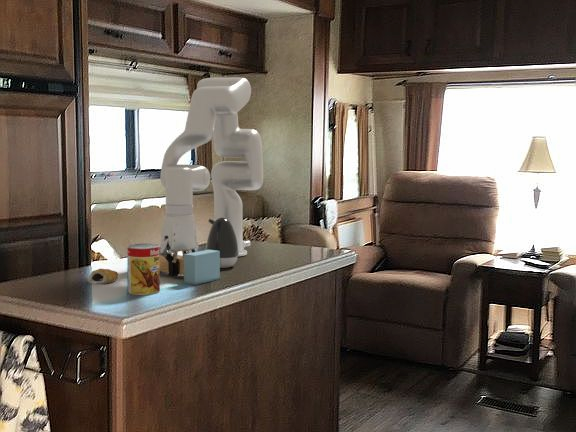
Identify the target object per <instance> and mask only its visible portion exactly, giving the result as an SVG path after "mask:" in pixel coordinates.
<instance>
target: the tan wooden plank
mask: <svg viewBox="0 0 576 432" xmlns="http://www.w3.org/2000/svg"><path fill="white" fill-rule="evenodd" d="M172 257H173V253H172ZM176 262H177V263H178V275H179V276H181V275H182V276H184V256H183V255H180V254H177V260H176ZM159 271H162V272H161V273H168V274H169V268H168V262H167V261H166V258H165V257H164V256H163V255H161V254H160V252H159Z"/></svg>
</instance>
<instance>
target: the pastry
mask: <svg viewBox="0 0 576 432" xmlns="http://www.w3.org/2000/svg"><path fill="white" fill-rule="evenodd" d="M118 280H119V273H118V272H117V271H116V270H112V269H110V268H98V269H95V270H92V271H91V273H90V274H89V276H88V277H87V282H89V284H92V285H95V284H96V285H106V284H107V285H108V283H109V284H112V283H113V282H117V281H118Z"/></svg>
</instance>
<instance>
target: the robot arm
mask: <svg viewBox="0 0 576 432" xmlns="http://www.w3.org/2000/svg"><path fill="white" fill-rule="evenodd" d="M250 83H251V82H249V80H248V79H247V78H245V77H238V76H237V77H207V78H202V79H200V80H199V81H198V82H197V84H196V89H194V91H193V93H192V94H191V97H190V98H191V99H190V103H189V109H188V111H187V113H188V114H187V118H186V122H185V128H184V130H183V132H182V133H180V134H179V135H178V136H177V137H175V139H174V140H173V141H172V142H171V144H169V146H168V147H167V149H166V151H165V153H164V155H163V160H162V164H161V169H160V174H159V175H160V178H159V179H160V183H161V185H162V187H163V188H165V215H163V219H162V223H161V233H160V247H161V250H160V254H161V255H163V256H164V257H165V258H166V261H167V262H168V268H169V273H168V276H170V277H175V278H176V277H179V274H178V263H177V262H176V260H177V255H179V254H178V252H181V253H182V256H184V254H187V253H193V252H197V251H198V249H199V248H200V247H199V246H200V245H199V244H198V241H197V226H196V220H195V214H194V210H195V206H194V204H193V203H194V198H193V197H194V195H193V192H201V191H204V190H206V189H207V188H208V187H209V186H210V183H212V188H213V201H214V202H213V204H214V205H213V206H214V207H213V210H214V211H213V214H214V219H213V221H215V220H217V219H218V218H226V219H228V220H229V221H230V223H231V224H232V226H233V229H234V231H235V234H236V238H237V242H238V249H239V255H238V257H244V256H246V255H248V251H247V250H246V249H245V248H246V247H250V246H251V241H250V240H243V239H244V238H243V233H244V232H243V231H244V230H243V225H244V224H243V221H244V220H243V217H244V216H243V209H244V208H243V207H244V205H243V200H242V198H241V196H240V195H239V193H237V191H257V190H259V189H261V188H262V186H263V183H264V160H263V159H264V158H263V156H264V155H263V141H262V137H261V135H260V133H259V131H257V130H255V129H251V128H241V127H240V126H239V116H238V113H239V112H240V110H242V109H243V108H244V107H245V106H246V105H247V104H248V103H249V101H250V99H251V95H252V87H251V84H250ZM212 139H213V149H214V152H215V155H216V156H219V157H221V158H229V159H230V158H232V159H234V158H235V159H236V158H237V159H238V158H239V159H245V160H246V161H242V160H241V161H239V160H238V161H237V160H234V161H233V160H225V161H219V162H216V163H215V164H214V165H213V166H212V168H211V171H210V170H209V169H208V168H207V167H205V166H203V165H201V164H200V165H199V164H178V162H179V161H180V159H181V158H182V157H183V156H184V155H185V154H187V153H189V152H190V151H192V150H194V149H196V148H198V147H200V146H202V145H205V144H207V143H208V142H209V143H210V141H212ZM210 172H211V173H210ZM211 181H212V182H211ZM172 254H173V257H172ZM238 257H237V258H238Z"/></svg>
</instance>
